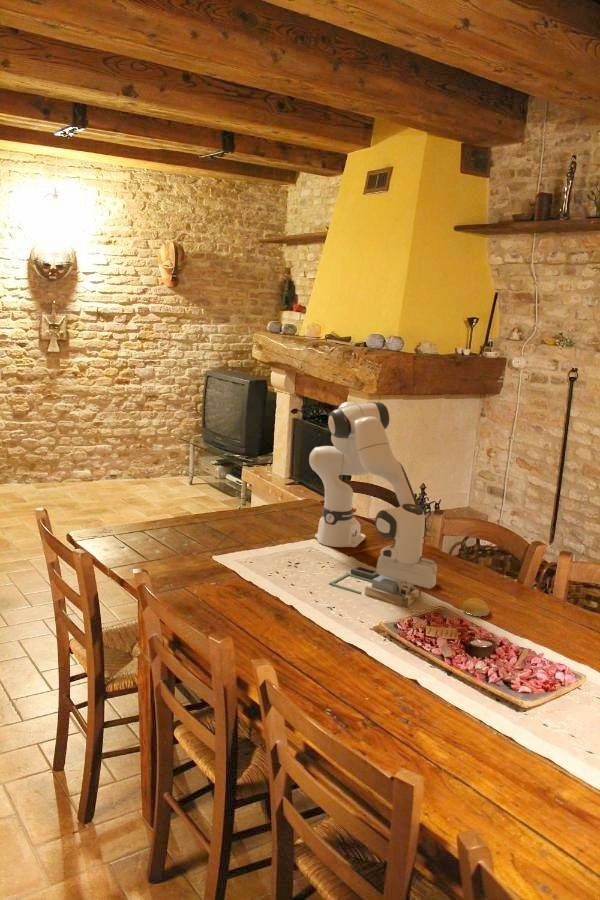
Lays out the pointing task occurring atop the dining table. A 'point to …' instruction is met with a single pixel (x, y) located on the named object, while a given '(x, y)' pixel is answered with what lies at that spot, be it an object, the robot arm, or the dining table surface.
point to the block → (386, 585)
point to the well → (364, 572)
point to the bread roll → (476, 607)
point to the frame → (346, 587)
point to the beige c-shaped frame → (393, 598)
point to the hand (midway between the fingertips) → (404, 593)
